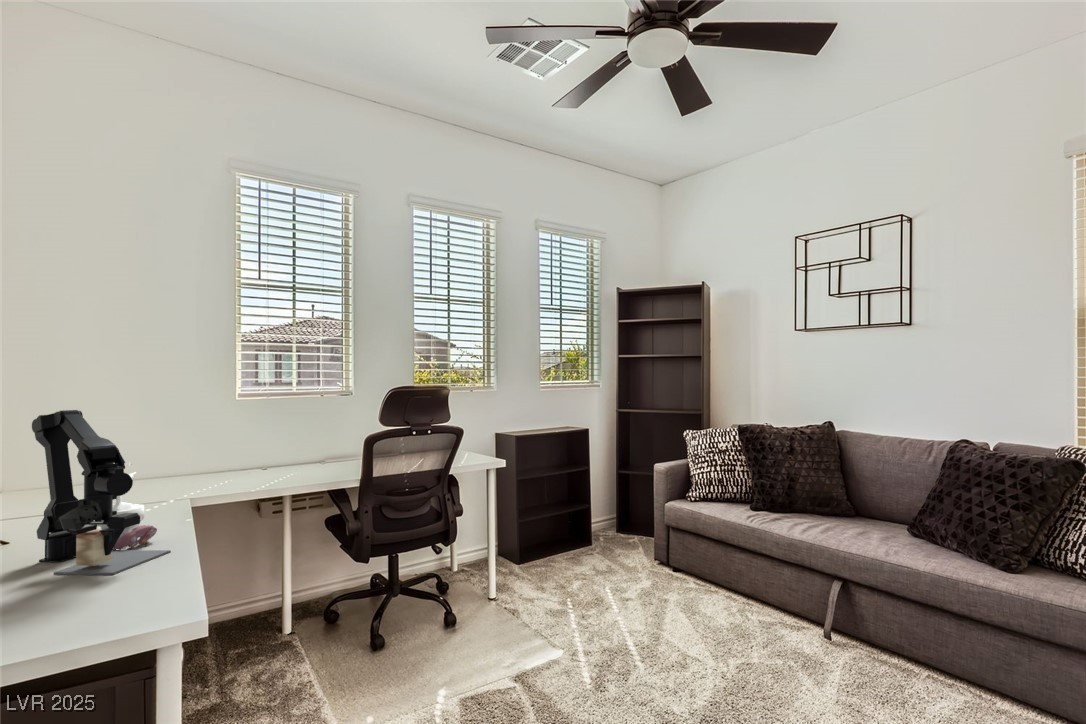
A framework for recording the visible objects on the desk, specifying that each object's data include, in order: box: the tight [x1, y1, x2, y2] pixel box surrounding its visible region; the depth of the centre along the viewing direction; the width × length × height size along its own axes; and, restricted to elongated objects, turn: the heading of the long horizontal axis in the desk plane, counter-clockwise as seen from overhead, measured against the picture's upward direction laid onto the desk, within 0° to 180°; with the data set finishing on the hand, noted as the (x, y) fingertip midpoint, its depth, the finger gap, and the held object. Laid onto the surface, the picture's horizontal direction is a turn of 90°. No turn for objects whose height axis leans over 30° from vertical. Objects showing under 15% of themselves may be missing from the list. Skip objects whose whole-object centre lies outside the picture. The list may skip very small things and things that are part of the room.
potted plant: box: [97, 459, 145, 541], centre depth 165 cm, size 13×12×25 cm
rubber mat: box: [53, 549, 171, 576], centre depth 143 cm, size 16×18×1 cm
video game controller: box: [113, 524, 158, 550], centre depth 158 cm, size 10×5×7 cm, turn 169°
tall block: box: [75, 529, 113, 566], centre depth 138 cm, size 5×5×8 cm
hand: (98, 555), depth 139 cm, fingers closed on tall block, 5 cm apart
